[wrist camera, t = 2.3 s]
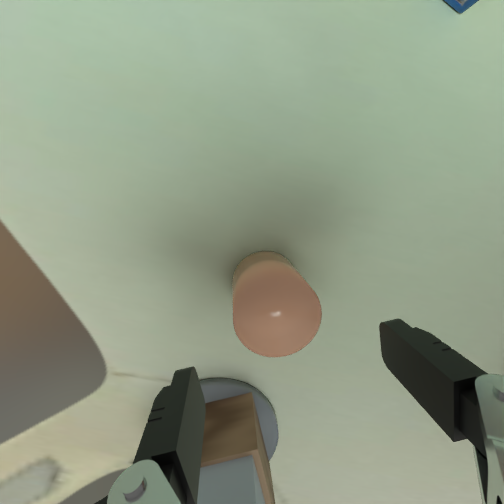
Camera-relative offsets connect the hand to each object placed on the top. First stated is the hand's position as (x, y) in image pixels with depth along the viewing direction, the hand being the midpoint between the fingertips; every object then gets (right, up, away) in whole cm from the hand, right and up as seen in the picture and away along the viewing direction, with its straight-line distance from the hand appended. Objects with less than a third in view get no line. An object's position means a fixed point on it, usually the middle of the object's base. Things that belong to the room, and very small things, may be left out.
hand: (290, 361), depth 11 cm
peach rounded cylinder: (-1, +2, +10) cm, 10 cm away
